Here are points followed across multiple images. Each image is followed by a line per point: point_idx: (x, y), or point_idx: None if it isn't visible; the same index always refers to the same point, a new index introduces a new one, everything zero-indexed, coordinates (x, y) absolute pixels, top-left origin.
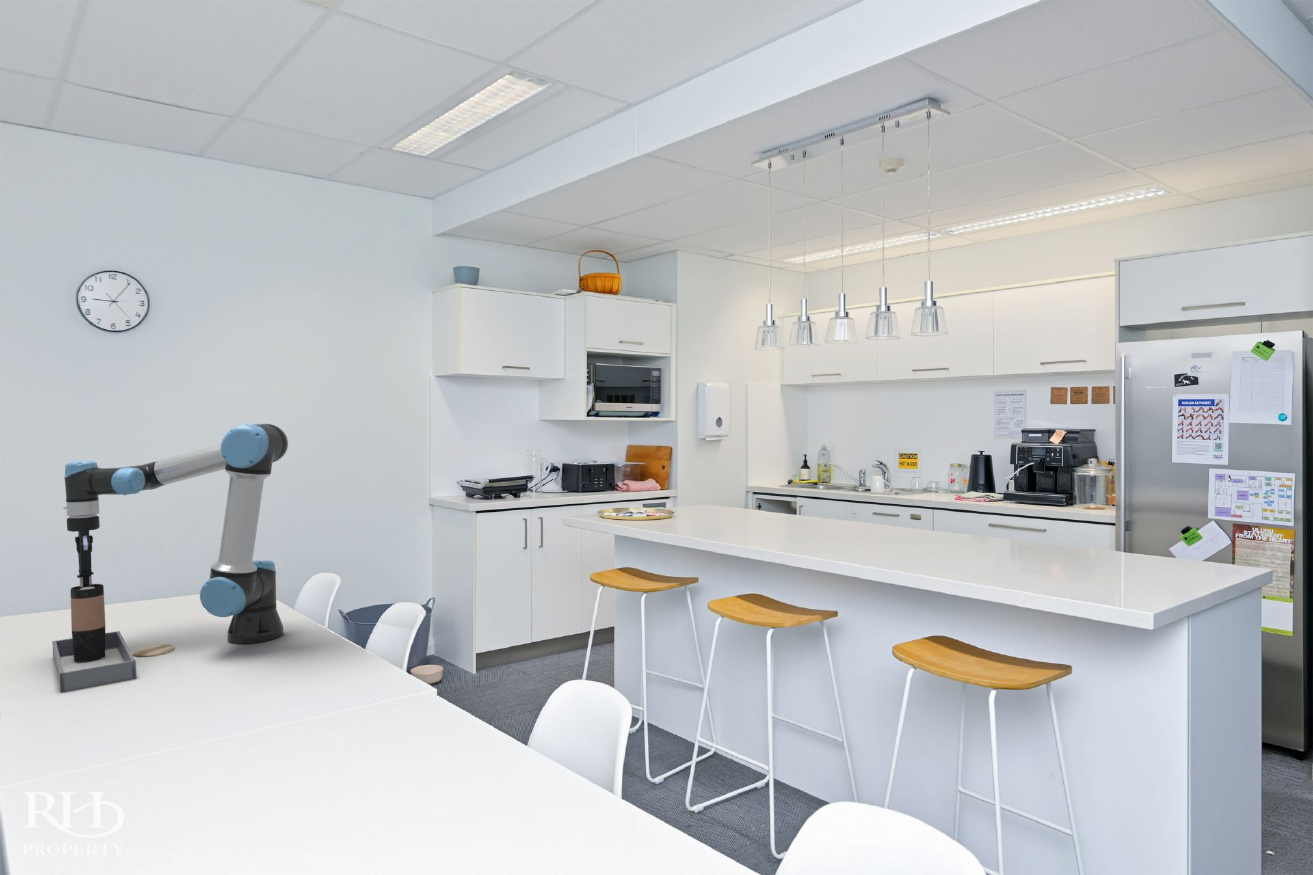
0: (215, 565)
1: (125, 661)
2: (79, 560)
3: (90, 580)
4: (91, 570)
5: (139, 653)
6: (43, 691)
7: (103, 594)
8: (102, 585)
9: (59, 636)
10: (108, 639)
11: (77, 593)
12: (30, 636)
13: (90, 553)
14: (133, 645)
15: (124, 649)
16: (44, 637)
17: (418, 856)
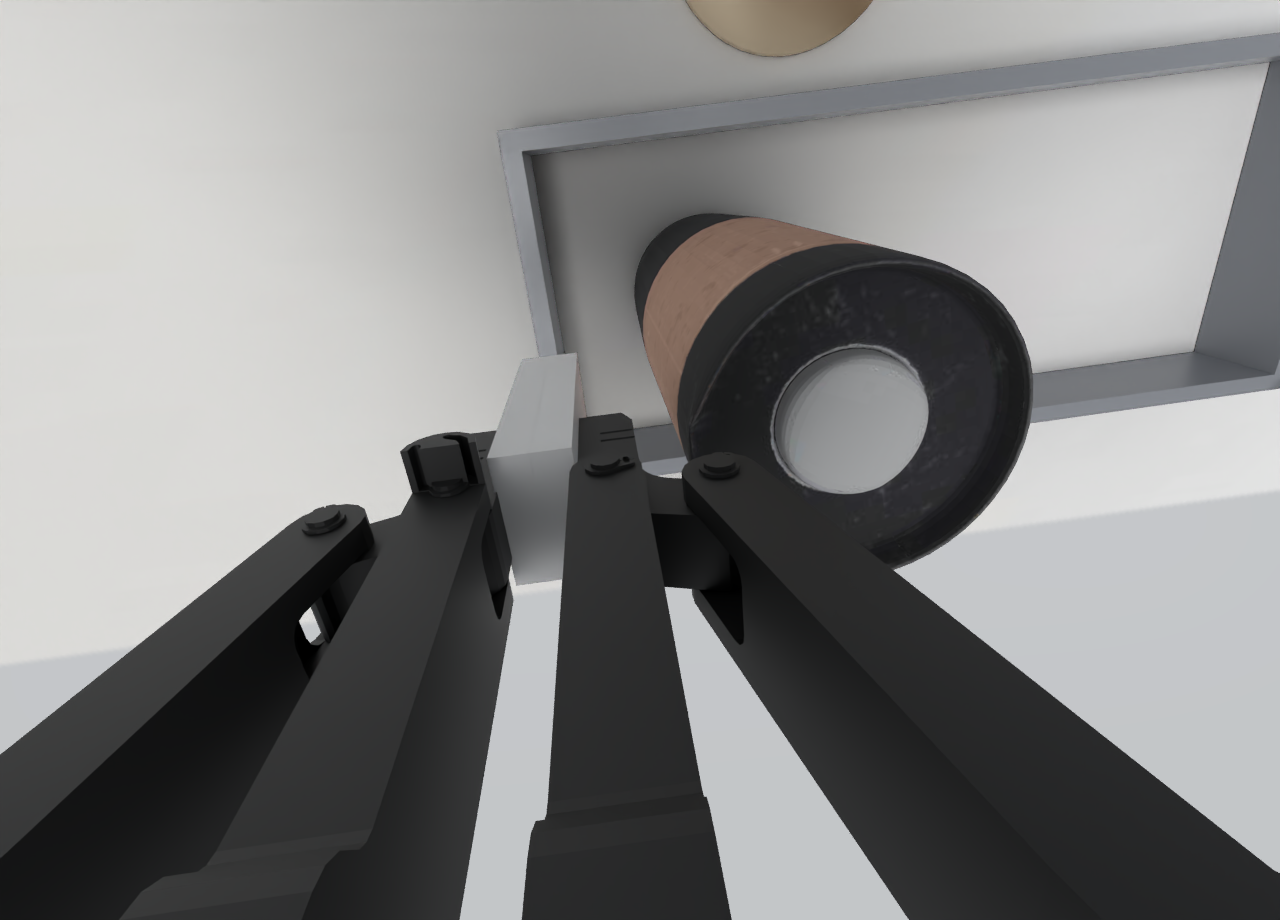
0: None
1: (987, 96)
2: (475, 792)
3: (573, 435)
4: (781, 483)
5: (821, 11)
6: (1129, 424)
7: (875, 245)
8: (858, 268)
9: (92, 471)
10: (533, 203)
11: (957, 495)
12: (43, 593)
13: (1125, 775)
14: (532, 51)
15: (998, 91)
16: (91, 534)
17: None
